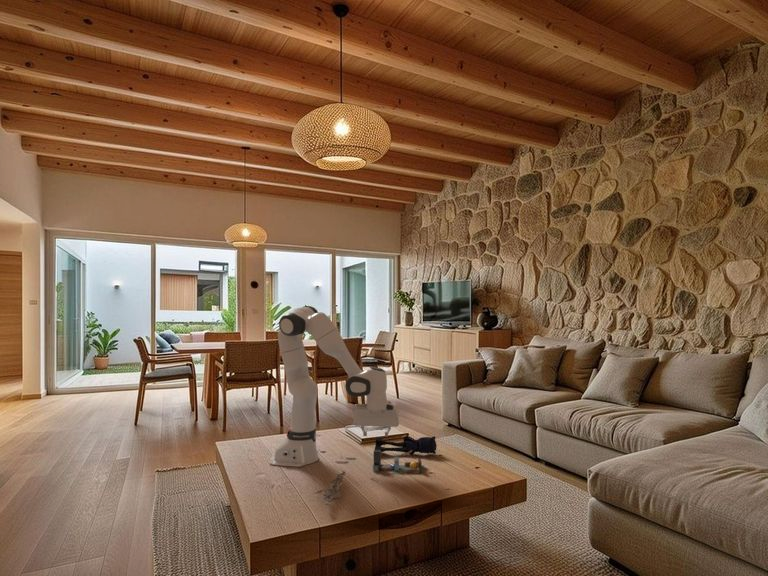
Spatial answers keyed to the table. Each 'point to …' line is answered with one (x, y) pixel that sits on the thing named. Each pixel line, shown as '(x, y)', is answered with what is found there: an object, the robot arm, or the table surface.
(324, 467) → the table surface
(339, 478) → the carved scroll ornament
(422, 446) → the toy
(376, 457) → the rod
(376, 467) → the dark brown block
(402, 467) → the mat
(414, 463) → the ball
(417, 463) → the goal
